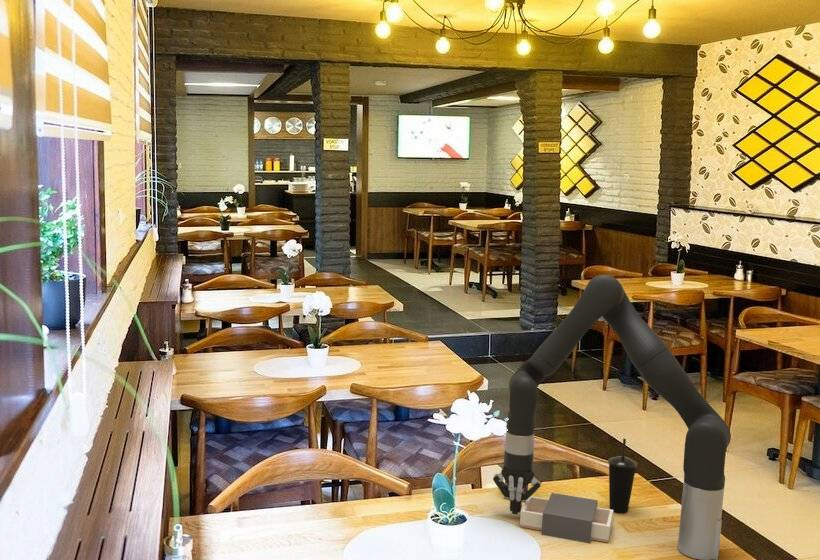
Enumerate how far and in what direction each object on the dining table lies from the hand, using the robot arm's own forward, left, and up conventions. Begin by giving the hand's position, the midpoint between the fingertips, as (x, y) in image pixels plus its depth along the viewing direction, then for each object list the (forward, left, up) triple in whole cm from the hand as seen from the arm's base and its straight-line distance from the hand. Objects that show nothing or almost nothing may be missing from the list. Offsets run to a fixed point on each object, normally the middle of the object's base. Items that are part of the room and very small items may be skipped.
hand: (515, 513), depth 213 cm
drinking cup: (-25, -17, -2) cm, 30 cm away
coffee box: (+3, -16, -2) cm, 16 cm away
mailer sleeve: (-14, 0, -1) cm, 14 cm away
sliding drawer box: (-13, 0, -1) cm, 13 cm away
